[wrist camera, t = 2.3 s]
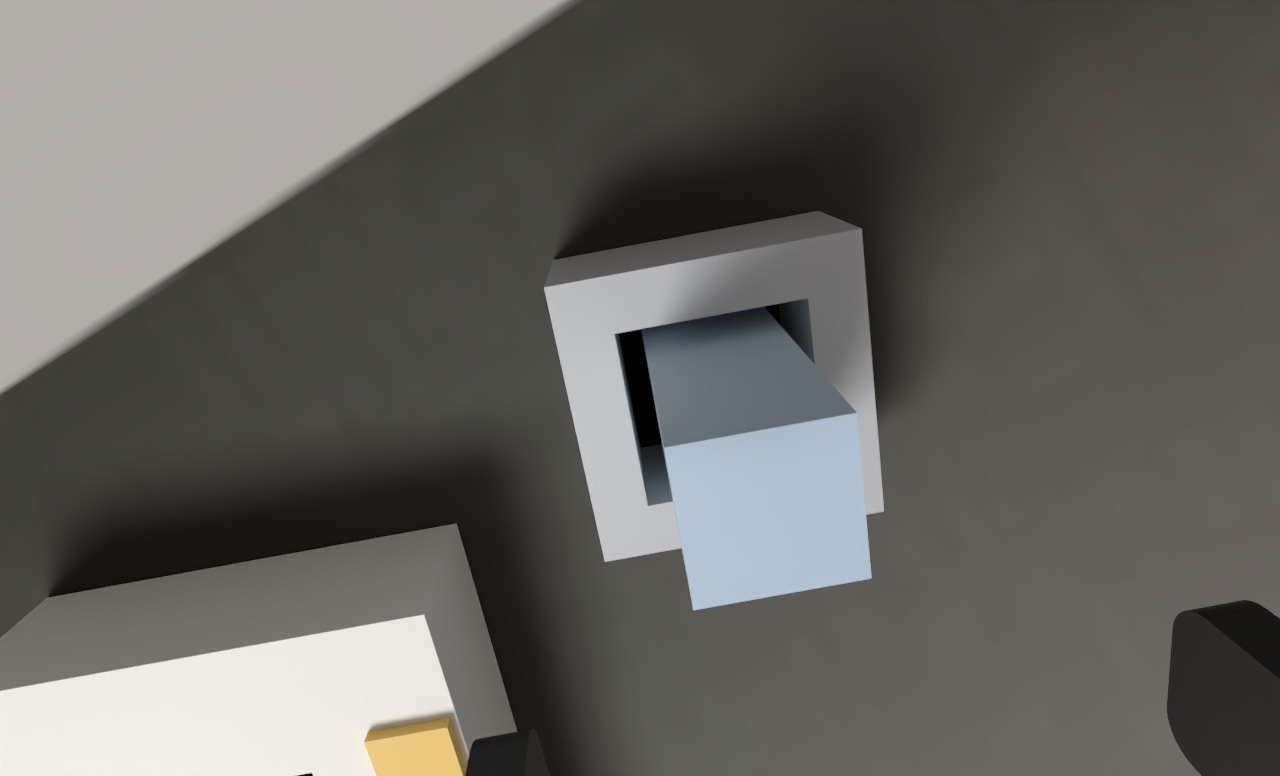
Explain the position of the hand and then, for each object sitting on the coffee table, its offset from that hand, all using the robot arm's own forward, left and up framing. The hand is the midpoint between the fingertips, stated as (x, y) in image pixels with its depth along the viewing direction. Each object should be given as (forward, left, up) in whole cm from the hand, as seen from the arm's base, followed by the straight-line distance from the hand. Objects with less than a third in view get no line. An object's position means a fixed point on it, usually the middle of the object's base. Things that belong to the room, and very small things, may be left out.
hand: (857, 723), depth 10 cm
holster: (0, 0, -15) cm, 15 cm away
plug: (0, 0, -15) cm, 15 cm away
